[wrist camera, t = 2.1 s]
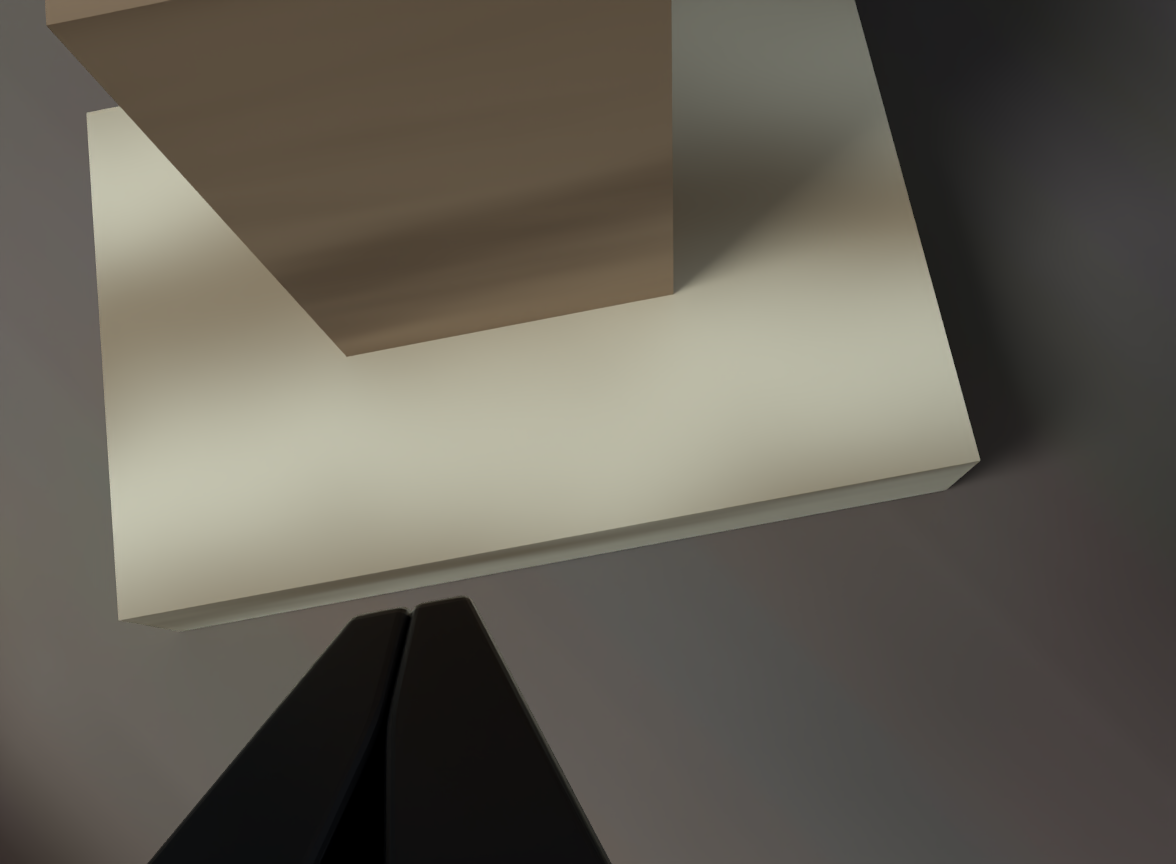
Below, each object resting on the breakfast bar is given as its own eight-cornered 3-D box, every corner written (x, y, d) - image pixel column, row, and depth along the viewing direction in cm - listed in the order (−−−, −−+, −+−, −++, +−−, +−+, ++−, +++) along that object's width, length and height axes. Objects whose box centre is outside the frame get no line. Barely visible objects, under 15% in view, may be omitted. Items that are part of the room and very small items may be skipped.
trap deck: (945, 490, 21) (980, 460, 19) (180, 631, 22) (118, 620, 19) (714, -390, 27) (718, -499, 25) (110, -263, 27) (56, -359, 25)
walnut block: (673, 294, 20) (669, -102, 10) (346, 356, 20) (47, 25, 11) (613, 8, 22) (563, -566, 12) (310, 69, 22) (20, -450, 12)
